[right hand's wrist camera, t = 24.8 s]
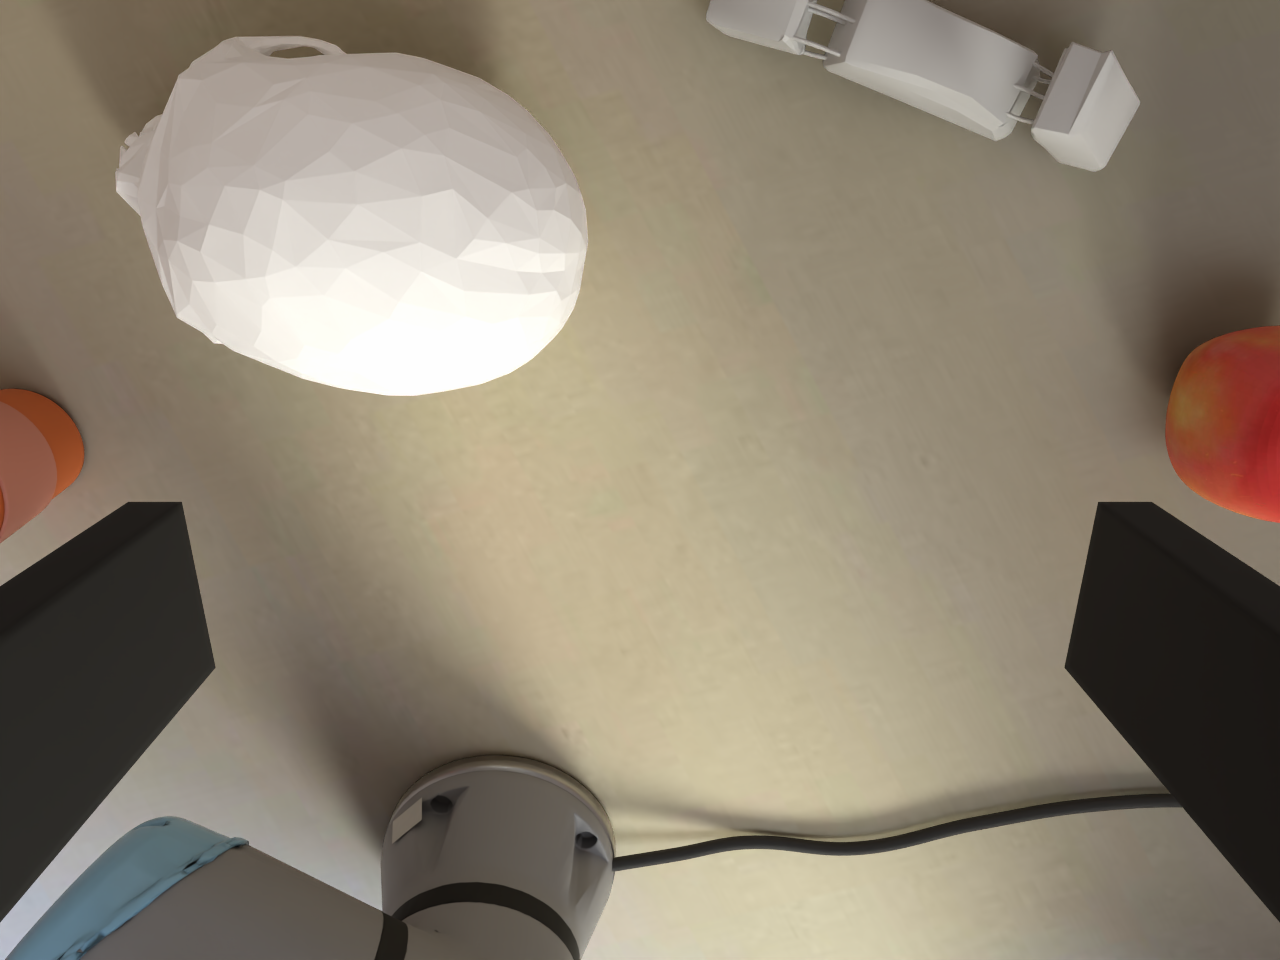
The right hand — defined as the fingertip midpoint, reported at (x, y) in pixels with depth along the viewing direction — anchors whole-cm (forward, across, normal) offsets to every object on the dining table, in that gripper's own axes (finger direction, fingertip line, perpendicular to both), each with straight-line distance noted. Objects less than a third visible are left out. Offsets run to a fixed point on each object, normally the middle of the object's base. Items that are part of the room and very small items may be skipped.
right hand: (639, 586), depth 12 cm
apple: (+34, -31, +6) cm, 46 cm away
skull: (+34, +13, -4) cm, 36 cm away
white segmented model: (+34, -13, -10) cm, 38 cm away
